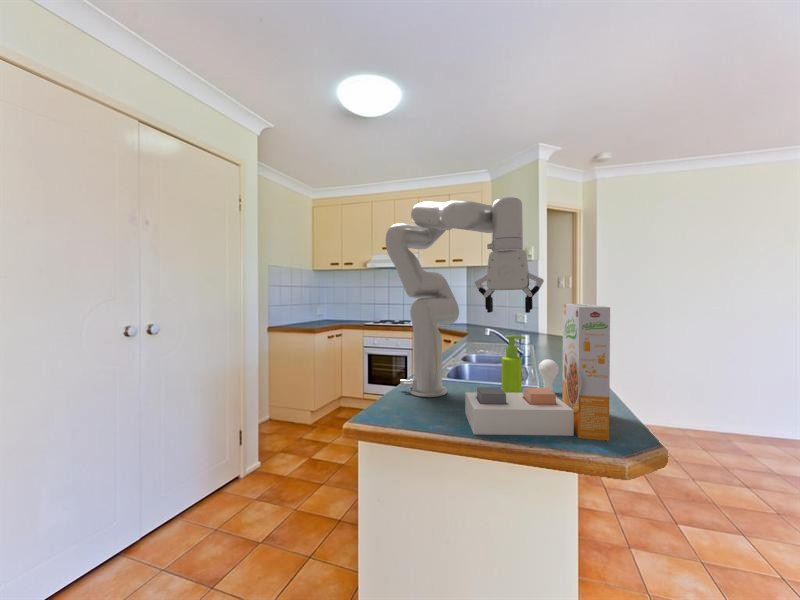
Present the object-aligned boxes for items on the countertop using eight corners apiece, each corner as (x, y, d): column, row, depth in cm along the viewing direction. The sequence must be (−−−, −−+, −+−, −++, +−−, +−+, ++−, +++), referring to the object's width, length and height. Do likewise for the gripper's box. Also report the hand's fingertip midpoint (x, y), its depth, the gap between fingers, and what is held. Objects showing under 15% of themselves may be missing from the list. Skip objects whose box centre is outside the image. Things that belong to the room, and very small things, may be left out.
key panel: (473, 434, 84) (473, 409, 84) (465, 414, 98) (465, 392, 98) (573, 435, 83) (573, 410, 83) (550, 414, 97) (550, 392, 97)
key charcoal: (481, 409, 88) (481, 393, 87) (477, 402, 94) (477, 387, 93) (506, 410, 87) (506, 393, 87) (500, 402, 93) (500, 387, 93)
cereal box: (562, 407, 103) (562, 303, 103) (586, 409, 101) (586, 303, 101) (578, 437, 82) (579, 307, 81) (609, 440, 80) (610, 307, 79)
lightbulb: (550, 396, 114) (550, 361, 114) (534, 391, 120) (534, 358, 119) (562, 393, 117) (562, 360, 117) (546, 388, 123) (546, 357, 122)
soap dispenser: (526, 403, 106) (526, 337, 106) (502, 402, 108) (502, 336, 107) (523, 398, 112) (523, 334, 112) (500, 396, 114) (501, 334, 113)
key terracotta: (530, 410, 87) (530, 394, 87) (523, 402, 93) (523, 387, 93) (555, 410, 87) (555, 394, 87) (546, 402, 93) (546, 387, 93)
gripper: (470, 247, 94) (471, 312, 94) (541, 242, 85) (542, 313, 86) (479, 251, 100) (479, 311, 100) (544, 245, 92) (545, 312, 92)
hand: (508, 312), depth 93 cm, fingers open, 9 cm apart
